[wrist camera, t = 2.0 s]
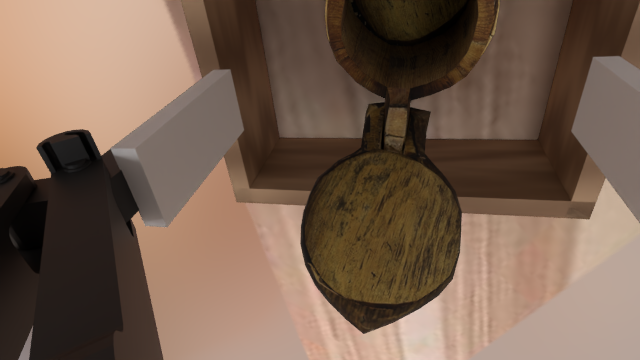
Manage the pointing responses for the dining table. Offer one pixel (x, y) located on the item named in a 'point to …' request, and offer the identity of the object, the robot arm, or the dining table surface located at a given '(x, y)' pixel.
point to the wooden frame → (446, 154)
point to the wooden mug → (392, 159)
